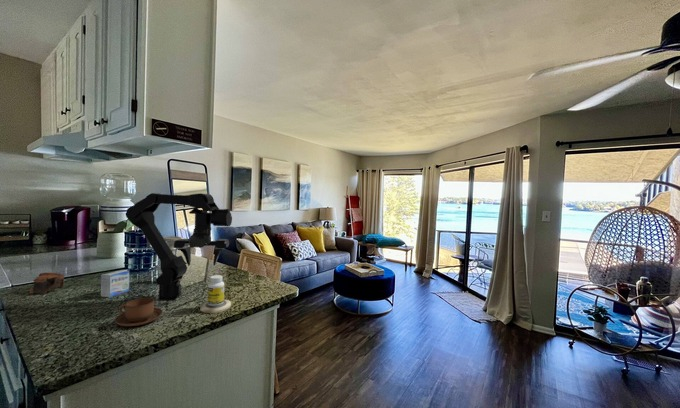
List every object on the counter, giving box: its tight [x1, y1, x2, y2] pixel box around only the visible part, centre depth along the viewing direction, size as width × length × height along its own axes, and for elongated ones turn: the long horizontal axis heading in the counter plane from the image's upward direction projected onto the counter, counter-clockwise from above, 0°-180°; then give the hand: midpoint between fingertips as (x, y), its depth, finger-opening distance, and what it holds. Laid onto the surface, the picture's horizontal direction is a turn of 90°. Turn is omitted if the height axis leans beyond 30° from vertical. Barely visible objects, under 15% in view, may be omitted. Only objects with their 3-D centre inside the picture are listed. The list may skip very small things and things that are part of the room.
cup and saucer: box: [114, 297, 163, 327], centre depth 86 cm, size 12×12×6 cm
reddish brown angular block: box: [29, 272, 65, 295], centre depth 110 cm, size 12×10×8 cm
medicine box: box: [100, 269, 130, 298], centre depth 108 cm, size 8×4×9 cm, turn 168°
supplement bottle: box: [207, 274, 225, 306], centre depth 98 cm, size 5×5×10 cm
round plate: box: [199, 298, 232, 314], centre depth 98 cm, size 10×10×1 cm
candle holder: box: [163, 236, 183, 282], centre depth 126 cm, size 9×9×20 cm
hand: (201, 265), depth 107 cm, fingers open, 9 cm apart
